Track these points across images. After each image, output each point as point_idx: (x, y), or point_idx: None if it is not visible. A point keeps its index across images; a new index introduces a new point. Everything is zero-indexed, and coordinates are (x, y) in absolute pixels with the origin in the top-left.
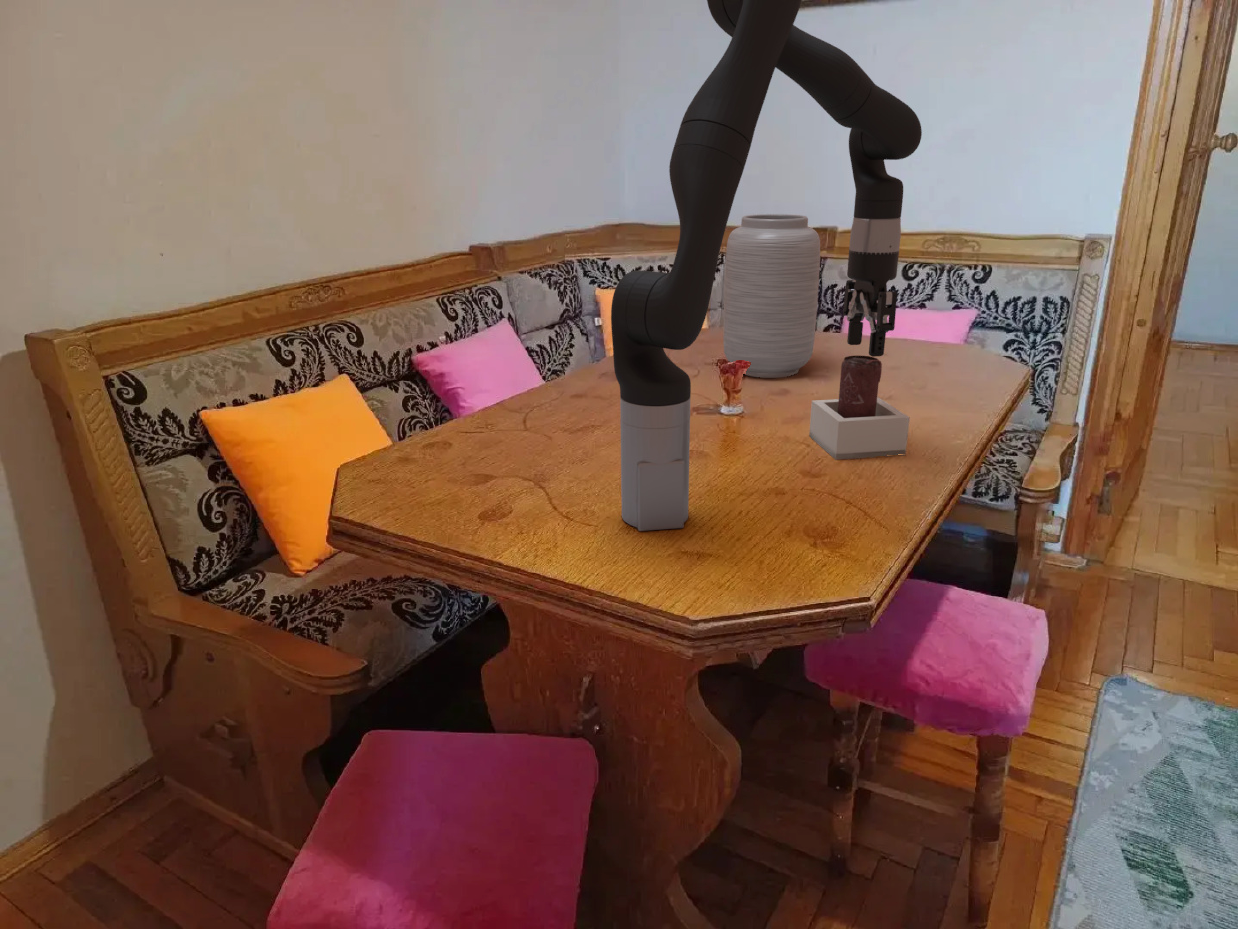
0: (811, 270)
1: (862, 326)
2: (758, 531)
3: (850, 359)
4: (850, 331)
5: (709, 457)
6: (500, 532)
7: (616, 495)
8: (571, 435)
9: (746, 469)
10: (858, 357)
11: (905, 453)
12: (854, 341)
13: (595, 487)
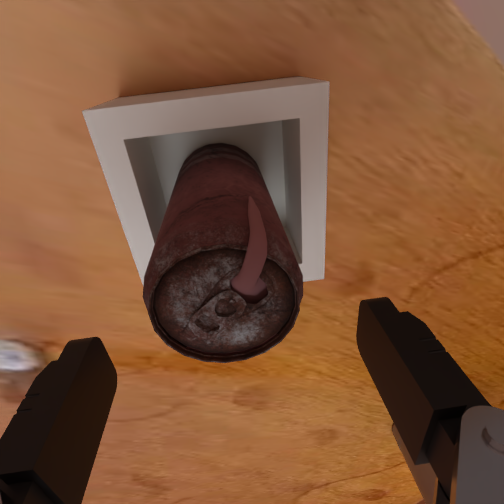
0: None
1: (47, 436)
2: (497, 353)
3: (191, 334)
4: (93, 449)
5: (264, 385)
6: (408, 487)
7: (361, 445)
8: (175, 488)
9: (317, 352)
10: (151, 302)
11: (299, 76)
12: (103, 373)
13: (337, 458)
